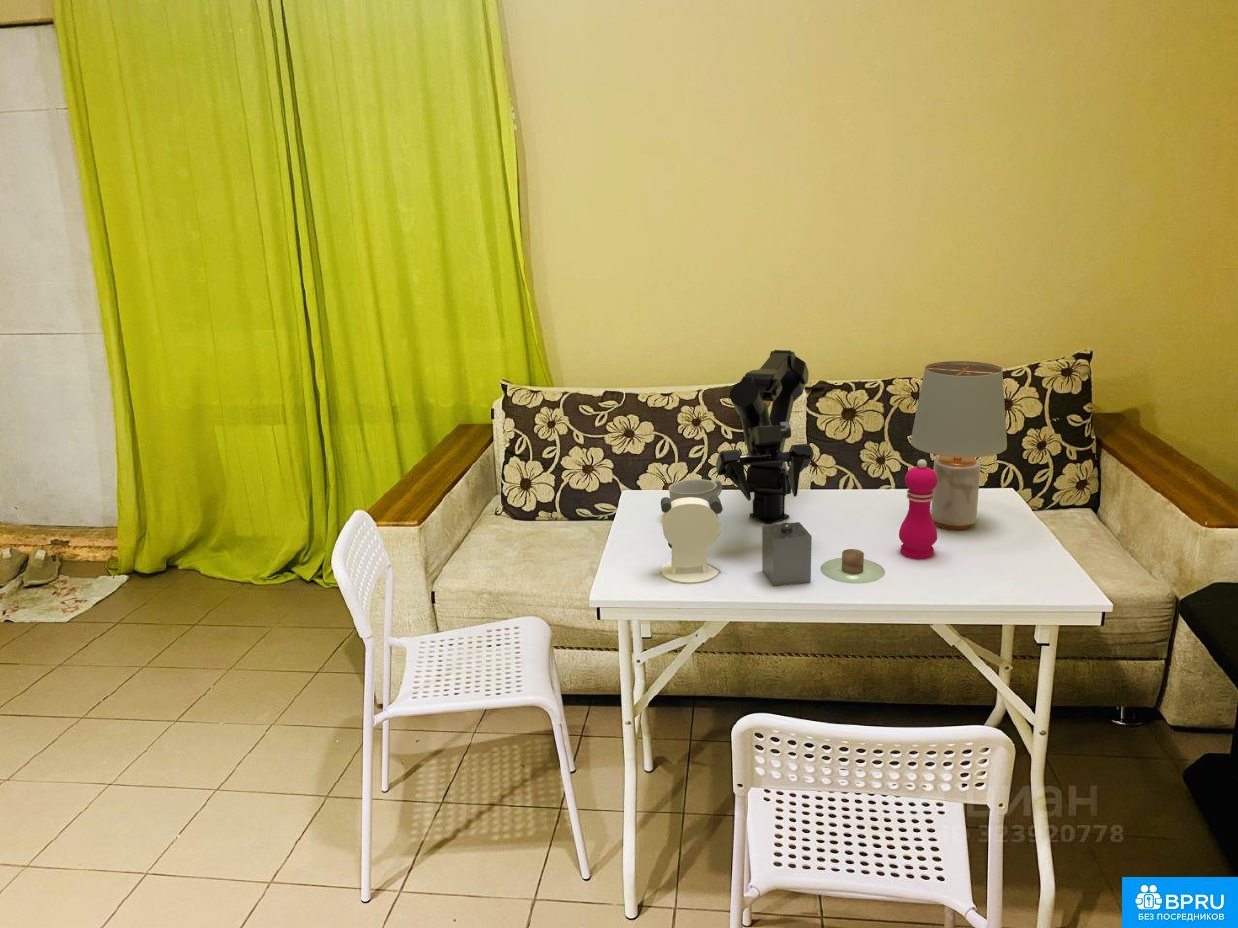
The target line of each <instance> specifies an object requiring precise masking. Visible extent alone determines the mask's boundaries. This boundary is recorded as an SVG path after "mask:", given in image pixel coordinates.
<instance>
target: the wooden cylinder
mask: <svg viewBox="0 0 1238 928" xmlns="http://www.w3.org/2000/svg"><path fill="white" fill-rule="evenodd" d="M841 552H842V553H841V558H842V571H843V572H845V573H847V574H860V573H862V572H863V564H864V559H865V552H863V551H862V550H860V549H855V548H848V549H844V550H842V551H841Z"/></svg>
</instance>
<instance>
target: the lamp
mask: <svg viewBox="0 0 1238 928" xmlns="http://www.w3.org/2000/svg"><path fill="white" fill-rule="evenodd" d="M1003 375H1004V373H1003V368H1002V367H1001V366H999V365H997V364H993V363H992V364H991V363H987V362H980V361H969V360H967V361H965V360H963V361H962V360H956V361H955V360H951V361H941V362H940V361H939V362H933V363H929V364H927V365H925V366H924V370H923V377H922V381H921V382H922V383H921V386H920V391H919V396H918V400H917V406H916V412H915V417H914V422H913V427H912V432H911V437H910V445H911V446H912V447H913V448H915V449H916V450H919V451H922V452H924V453H927V454H932V455H935V456H938V457H935V459H934V461H933V471H934V472H935V473H936V475H937V481H938V482H937V485H936V487H935V488H934V489H933V490H932V491H933V492H934V495H933V497H934V499H933V500H931V504H930V512H931V517H932V520H933V522H934V524H935V526H936V527H939V528H942V529H945V530H950V531H951V530H953V531H962V530H968V529H970V528H972V527H973V524H974V523H976V521H977V514H978V503H979V491H980V477H981V462H980V461H979V460H977V459H976V458H985V457H990V456H995V455H998V454H1001V453H1003V452H1005V451H1006V450H1007V447H1008V440H1007V438H1008V437H1007V436H1008V435H1007V422H1006V421H1007V420H1006V406H1005V404H1006V403H1005V395H1004V393H1005V391H1004V379H1003V377H1004V376H1003Z"/></svg>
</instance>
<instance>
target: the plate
mask: <svg viewBox="0 0 1238 928" xmlns="http://www.w3.org/2000/svg"><path fill="white" fill-rule="evenodd" d="M819 569H820V573H821V574H823V576H825V577H826V578H828V579H831V580H832V581H835V582H840V583H845V584H858V585H859V584H869V583H874V582H876V581H879V580H881V579H882V578H884V576H885V574H886V571H885V568H884V567H883V566H882V565H880V564H879V563H877V562H875V561H872V560H870V559H866V558H864V564H863V572H862V573H860V574H847V573H845V572H843V571H842V557H839V558H838V557H837V558H833V559H832V558H831V559H830V560H826V561H825V562H823V563H821V565H820V568H819Z"/></svg>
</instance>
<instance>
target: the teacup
mask: <svg viewBox="0 0 1238 928" xmlns="http://www.w3.org/2000/svg"><path fill="white" fill-rule="evenodd" d="M722 490H723V483H722V482H721V480H720V479H717V478H713V479H711V480H709V479H702V478H701V479H700V478H691V479H685V480H680V481H676V482H673V483H671V484H670V485H669V486H668V491H669V498H670V501H671V502H672V501H674V500H676V499H680V498H687V497H694V498H701V499H704V500H706V501H707V502H709V501H708V500H709V498H710V497H711V496H713V495H715V496H717V497H719V496H720V495H721V493H722V492H723V491H722Z"/></svg>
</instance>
